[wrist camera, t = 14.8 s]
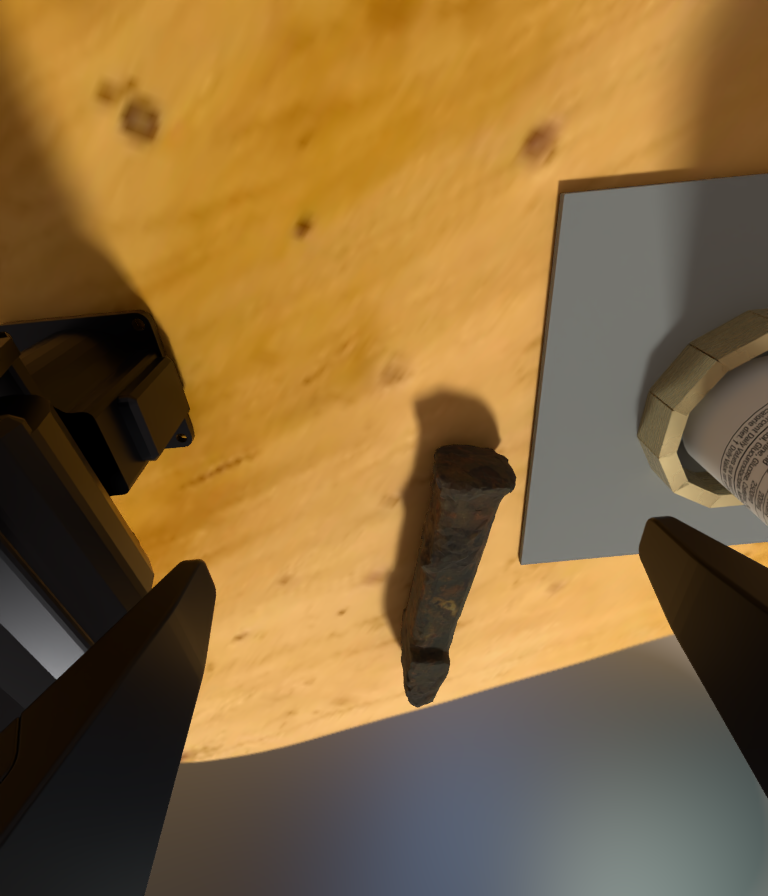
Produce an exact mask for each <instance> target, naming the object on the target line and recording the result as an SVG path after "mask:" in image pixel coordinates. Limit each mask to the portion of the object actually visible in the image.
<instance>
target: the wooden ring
mask: <svg viewBox="0 0 768 896" xmlns="http://www.w3.org/2000/svg"><path fill="white" fill-rule="evenodd" d="M689 344H690V345H687V346H686V347H685V348H684V349H683V350H682V352H681V353H680V354H679V355H678V356H677V358H676V359H675V360H674V361H673V362H672V363H671V365H670V366H669V367H668V368H667V369H666V371H665V372H664V373H663V374H662V375H661V376H660V378H659V379H658V380H657V381H656V382H655V384H654V385H653V386H652V387H651V388H650V391H648V395H647V398H646V402H645V406H644V410H643V414H642V418H641V422H640V426H639V429H638V433H637V436H638V437H637V438H638V440H639V443H640V445H641V447H642V449H643V451H644V454H645V456H646V458H647V460H648V463H649V465H650V467H651V469H652V470H653V471H654V472H655V473H656V474H657V476H658V477H659V478H660V479H661V480H662V481H663V482H664V483H665V484H666V485H667V486H668V487H669V488H670V489H671V491H672V492H673V493H675V494H678V495H680V496H682V497H685V498H687V499H689V500H692V501H694V502H697V503H699V504H701V505H704V506H706V507H708V508H716V507H727V506H737V505H744V504H743V503H742V502H741V501H740V500H738V499H737V498H736V497H735V496H734V495H733V494H732V493H731V492H730V491H729V490H727V489H726V488H725V487H724V486H723V485H722V484H721V483H720V482H719V481H718V480H716V479H715V478H714V477H713V476H712V475H711V474H710V473H709V472H708V471H704V472H692V471H690V470H688V469H686V468H683V467H682V465H681V463H680V460H679V458H678V455H677V450H678V447H679V444H680V441H681V438H682V434H683V431H684V428H685V425H686V422H687V419H688V416H689V413H690V412H691V411H692V410H693V409H694V407H695V406H696V405H697V404H698V403H699V402H700V401H701V400H702V399H703V398H704V397H705V395H706V394H707V393H708V392H709V391H710V390H711V389H712V388H713V387H714V386H715V385H716V384H717V382H718V381H719V380H720V379H721V378H722V377H723V376H724V375H725V374H726V373H727V372H728V371H730V370H732V369H734V368H736V367H737V366H739V365H741V364H743V363H745V362H747V361H749V360H751V359H753V358H754V357H756V356H758V355H760V354H762V353H764V352H766V351H768V308H767V309H756V310H748V311H745V312H744V313H742V314H740V315H738V316H737V317H735V318H733V319H731V320H729V321H728V322H726V323H724V324H722V325H720V326H719V327H717V328H715V329H713V330H712V331H710V332H708V333H706V334H704V335H703V336H701V337H699V338H697V339H695V340H694V341H692V342H690V343H689Z"/></svg>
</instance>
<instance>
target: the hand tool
mask: <svg viewBox="0 0 768 896" xmlns="http://www.w3.org/2000/svg"><path fill="white" fill-rule="evenodd" d="M434 457H435V461H436V462H435V463H434V465H433V474H434V477H433V479H432V481H431V487H432V490H433V495H432V498H431V501H430V505H429V510H428V512H427V514H426V517H425V524H424V526H423V531H422V536H421V539H423V540H422V544H421V547H420V549H419V555H418V560H417V565H416V570H415V574H414V579H413V584H412V588H411V591H410V596H409V601H408V605H407V608H406V609H404V611H403V618H402V629H401V643H402V656H401V663H402V667H403V676H404V689H405V693H406V696H407V697H408V701H409V702H410V704H412V705H413V706H415V707H420V706H422V705H425V704H428V703H431V702H433V700H434V698H435V696H436V693H437V692H438V690H439V687H440V686H441V684H442V683H443V681H444V680H445V678H446V676H447V674H448V671H449V666H450V659H449V648H450V645H451V643H452V639H453V635H454V631H455V628H456V625H457V621H458V619H459V617H460V615H461V612H462V610H463V607H464V604H465V601H466V599H467V596H468V593H469V591H470V588H471V585H472V583H473V580H474V577H475V574H476V572H477V568H478V565H479V562H480V560H481V557H482V554H483V551H484V548H485V546H486V543H487V539H488V536H489V533H490V529H491V526H492V523H493V521H494V518H495V514H496V511H497V509H498V506H499V503H500V502H501V500H502V499H503V497H504V496H505V495H507V494H508V493H509V492H510V493H511V492H512V491H513V490H514V487H515V481H516V476H515V474H514V471H513V469H512V468H511V466H510V465H509V463H508V459H507V458H506V457H505V456H503V455H500V454H497V453H496V452H495V451H494V450H493V449H489V448H480V447H475V446H470V445H449V446H442V447H440V448H438V449H437V450H436V452H435V454H434Z"/></svg>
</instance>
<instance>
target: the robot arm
mask: <svg viewBox="0 0 768 896" xmlns="http://www.w3.org/2000/svg"><path fill="white" fill-rule="evenodd" d="M136 319H140V320H142V321H143V323H144V324H145V328H142V327H140V326H138V325H137V323H136ZM5 332H7V333H9V334H10V335H11V336H12V338H11V337H7V336H6V334H5ZM12 339H13V340H12ZM189 411H190V407H189V404H188V402H187V399H186V396H185V393H184V390H183V388H182V385H181V382H180V379H179V376H178V373H177V371H176V368H175V365H174V362H173V361H172V360H171V359H170V358H169V357H167V355H166V353H165V350H164V347H163V344H162V341H161V339H160V336H159V333H158V330H157V328H156V325H155V322H154V320H153V318H152V316H151V315H150V314H148V313H147V312H145V311H143V310H132V311H121V312H111V313H101V314H90V315H80V316H70V317H59V318H49V319H38V320H28V321H18V322H7V323H3V324H1V325H0V896H144V895H145V891H146V888H147V884H148V880H149V876H150V873H151V869H152V865H153V861H154V858H155V854H156V850H157V847H158V843H159V839H160V835H161V831H162V828H163V824H164V820H165V816H166V813H167V809H168V805H169V802H170V798H171V794H172V790H173V787H174V782H175V778H176V775H177V772H178V768H179V764H180V761H181V757H182V753H183V749H184V746H185V742H186V738H187V734H188V731H189V727H190V723H191V719H192V716H193V712H194V708H195V704H196V701H197V697H198V693H199V689H200V686H201V682H202V678H203V674H204V669H205V664H206V658H207V651H208V645H209V638H210V632H211V625H212V619H213V612H214V606H215V599H216V589H215V585H214V582H213V580H212V578H211V575H210V573H209V570H208V568H207V566H206V564H205V562H204V561H203V560H201V559H196V560H185V561H182V562H180V563H179V564H178V565H177V566H176V567H175V568H173V569H172V570H171V571H170V572H169V573H168V574H167V575H166V576H165V577H164V578H163V579H162V580H161V581H160V582H159V583H158V584H157V585H156V586H155V587H153V588H152V584H153V578H154V573H153V570H152V567H151V564H150V561H149V558H148V557H147V555H146V553H145V552H144V550H143V549H142V547H141V546H140V543H139V541H138V539H137V537H136V536H135V534H134V533H133V532H132V531H131V530H130V528H129V526H128V525H127V523H126V522H125V520H124V519H123V517H122V515H121V514H120V512H119V511H118V509H117V507H116V506H115V504H114V503H113V501H112V499H111V498H110V496H114V495H124V494H127V493H128V491H129V490H130V489H131V487H132V486H133V484H134V483H135V481H136V480H137V478H138V477H139V475H140V474H141V472H142V471H143V469H144V468H145V466H146V465H147V464H148V462H149V461H156V460H157V459H158V458H159V456H160V455H161V453H162V452H163V450H164V449H167V448H177V447H186V446H189V445H190V444H191V443H192V441H193V439H194V437H195V434H194V430H193V427H192V425H191V422H190V419H189V416H188V412H189ZM179 433H181V434H184V435H185V436H186V437H187V438H182V437H181V436H180V435H179ZM639 556H640V559H641V561H642V564H643V566H644V568H645V571H646V573H647V575H648V577H649V580H650V582H651V584H652V587H653V589H654V591H655V593H656V596H657V598H658V600H659V603H660V605H661V607H662V609H663V612H664V614H665V616H666V618H667V620H668V623H669V625H670V627H671V629H672V631H673V632H674V634H675V636H676V638H677V640H678V642H679V643H680V645H681V647H682V648H683V650H684V652H685V654H686V655H687V657H688V659H689V661H690V663H691V664H692V666H693V668H694V670H695V671H696V673H697V675H698V677H699V678H700V680H701V682H702V684H703V685H704V687H705V689H706V691H707V693H708V694H709V696H710V698H711V700H712V701H713V703H714V705H715V707H716V708H717V710H718V712H719V714H720V715H721V717H722V719H723V720H724V722H725V724H726V726H727V728H728V729H729V731H730V733H731V735H732V736H733V738H734V740H735V742H736V743H737V745H738V747H739V749H740V750H741V752H742V754H743V756H744V758H745V759H746V761H747V763H748V765H749V766H750V768H751V770H752V772H753V773H754V775H755V777H756V778H757V780H758V782H759V784H760V786H761V787H762V789H763V790H764V793H765V794H766V796H767V798H768V568H767V567H765V566H763V565H761V564H760V563H758V562H756V561H754V560H752V559H750V558H748V557H747V556H745V555H743V554H741V553H739V552H737V551H735V550H734V549H732V548H730V547H728V546H726V545H724V544H723V543H721V542H719V541H717V540H715V539H713V538H711V537H710V536H708V535H706V534H704V533H702V532H700V531H699V530H697V529H695V528H693V527H691V526H689V525H687V524H686V523H684V522H682V521H680V520H678V519H676V518H674V517H672V516H660V517H651V518H649V519H648V520H647V522H646V524H645V527H644V531H643V534H642V537H641V540H640V544H639Z"/></svg>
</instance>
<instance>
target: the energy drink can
mask: <svg viewBox="0 0 768 896" xmlns="http://www.w3.org/2000/svg"><path fill="white" fill-rule="evenodd" d="M683 442H684V446H685V448H686V450H687V452H688V454H689V455H690V456H691V457H692V458H693V459H695V460H696V461H697V462H698V463H699V464H700V465H701V466H702V467H703V468H704V469H706V470H707V471H708V472H709V473H710V474H711V475H712V476H713V477H714V478H715V479H716V480H718V481H719V482H720V483H721V484H722V485H723V486H724V487H725V488H726V489H727V490H729V491H730V492H731V493H732V494H733V495H734V496H735V497H736V498H737V499H738V500H740V501H741V502H742V503H743V504H744V505H745V506H746V507H747V508H748V509H749V510H751V511H752V512H753V513H754V514H755V515H756V516H757V517H758V518H759V519H760V520H762V521H763V522H764V523H765V524H766V525H767V526H768V356H763V357H760V358H754V359H751V360H749V361H747V362H745V363H743V364H741V365H739V366H737V367H736V368H734V369H732V370H730V371H728V372H727V373H726V374H725V375H724V376H723V377H722V378H721V379H720V380H719V381H718V382H717V384H716V385H715V386H714V387H713V388H712V389H711V390H710V391H709V392H708V393H707V394H706V395H705V397H704V398H703V399H702V400H701V401H700V402H699V403H698V404H697V405H696V406H695V407H694V409H693V410H692V411H691V412H690V413H689V416H688V419H687V422H686V425H685V428H684V431H683Z"/></svg>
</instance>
